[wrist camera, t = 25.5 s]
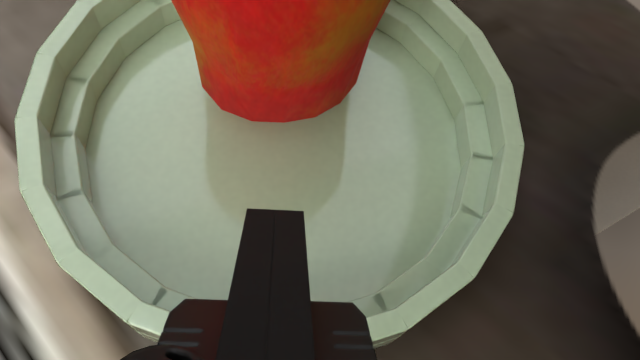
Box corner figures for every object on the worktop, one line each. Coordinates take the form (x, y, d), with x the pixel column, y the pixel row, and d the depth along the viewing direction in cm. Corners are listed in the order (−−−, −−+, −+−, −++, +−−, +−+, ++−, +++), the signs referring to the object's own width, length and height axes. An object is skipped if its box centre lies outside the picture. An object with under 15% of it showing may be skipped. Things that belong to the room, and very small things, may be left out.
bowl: (462, 3, 29) (485, -50, 26) (521, 375, 20) (569, 364, 17) (102, -25, 27) (80, -85, 24) (-8, 366, 18) (-64, 351, 15)
